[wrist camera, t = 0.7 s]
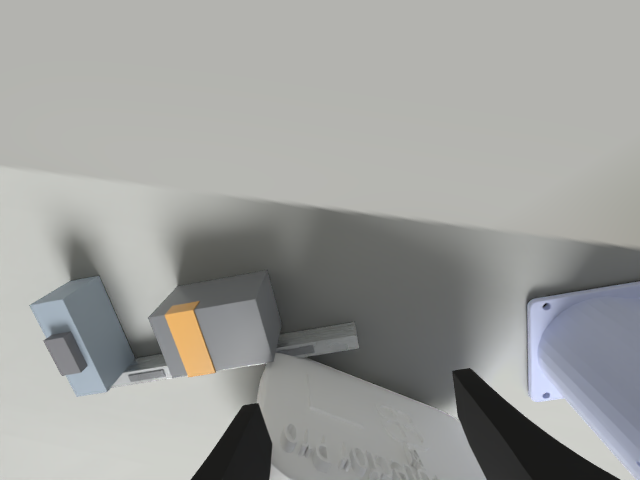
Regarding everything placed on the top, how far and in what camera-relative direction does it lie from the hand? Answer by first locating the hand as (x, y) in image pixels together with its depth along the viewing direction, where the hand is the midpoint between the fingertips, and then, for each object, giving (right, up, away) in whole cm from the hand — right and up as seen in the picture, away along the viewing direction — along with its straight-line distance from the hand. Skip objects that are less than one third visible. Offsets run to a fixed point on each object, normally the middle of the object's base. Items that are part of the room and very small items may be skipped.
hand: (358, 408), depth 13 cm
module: (-7, +2, +10) cm, 13 cm away
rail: (-8, -1, +11) cm, 13 cm away
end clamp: (-16, +1, +10) cm, 19 cm away
